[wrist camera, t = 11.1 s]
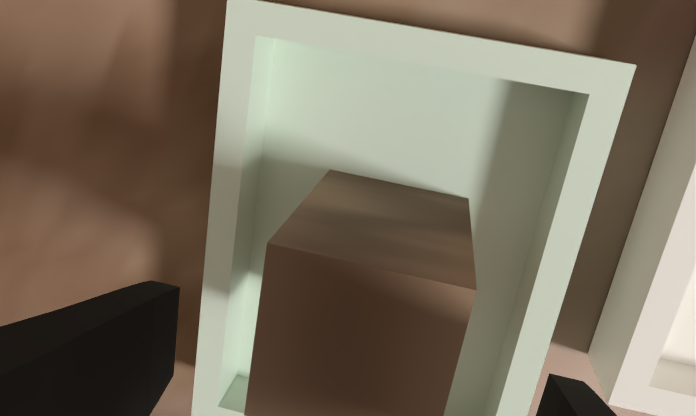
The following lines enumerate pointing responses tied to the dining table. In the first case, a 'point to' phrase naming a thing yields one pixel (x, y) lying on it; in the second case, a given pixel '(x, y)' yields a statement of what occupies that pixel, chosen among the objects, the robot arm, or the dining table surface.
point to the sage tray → (405, 173)
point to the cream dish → (657, 280)
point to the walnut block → (363, 302)
